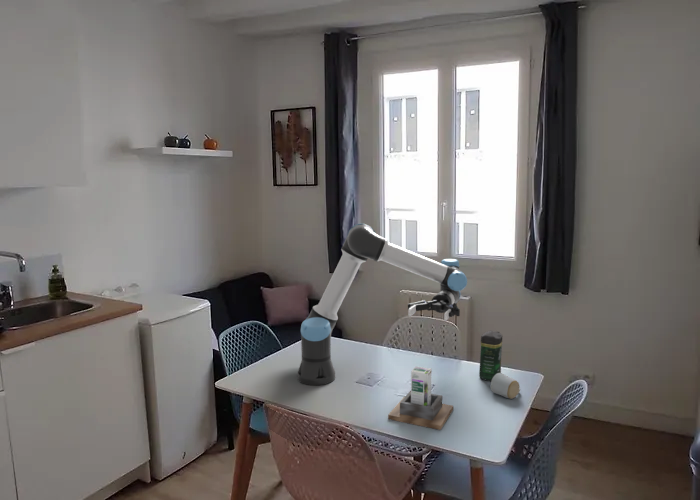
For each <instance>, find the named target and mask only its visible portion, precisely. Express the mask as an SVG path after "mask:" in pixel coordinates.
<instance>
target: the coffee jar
mask: <svg viewBox="0 0 700 500" xmlns="http://www.w3.org/2000/svg"><path fill="white" fill-rule="evenodd" d="M502 352H503V334H502V333H501V332H500V331H497V330H488V331H485V332H484V333H482V335H481V336H480V353H479V354H480V356H479V357H480V358H479V372H478V377H479V378H480V379H482V380H484V381H488V382H491V381H492V379H493V377H494V376H495V375H496V374H497V373H502Z"/></svg>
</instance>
